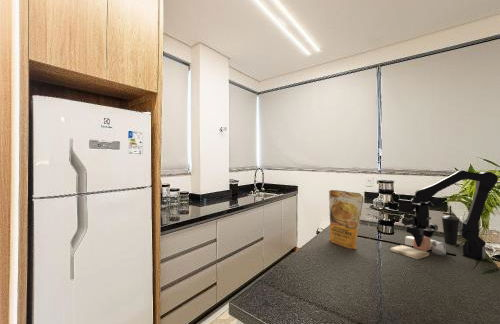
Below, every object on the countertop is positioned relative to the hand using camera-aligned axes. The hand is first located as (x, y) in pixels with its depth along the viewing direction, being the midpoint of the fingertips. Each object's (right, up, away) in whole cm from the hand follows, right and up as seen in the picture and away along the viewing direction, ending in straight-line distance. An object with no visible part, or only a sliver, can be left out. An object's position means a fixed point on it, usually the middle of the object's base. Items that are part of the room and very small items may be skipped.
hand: (422, 245), depth 117 cm
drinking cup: (+22, -2, +8) cm, 23 cm away
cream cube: (-2, -2, +5) cm, 6 cm away
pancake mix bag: (-37, -2, +6) cm, 38 cm away
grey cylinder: (+3, -2, -6) cm, 7 cm away
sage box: (+8, -2, +4) cm, 9 cm away
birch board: (-11, -1, -6) cm, 12 cm away
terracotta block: (0, -2, 0) cm, 2 cm away
